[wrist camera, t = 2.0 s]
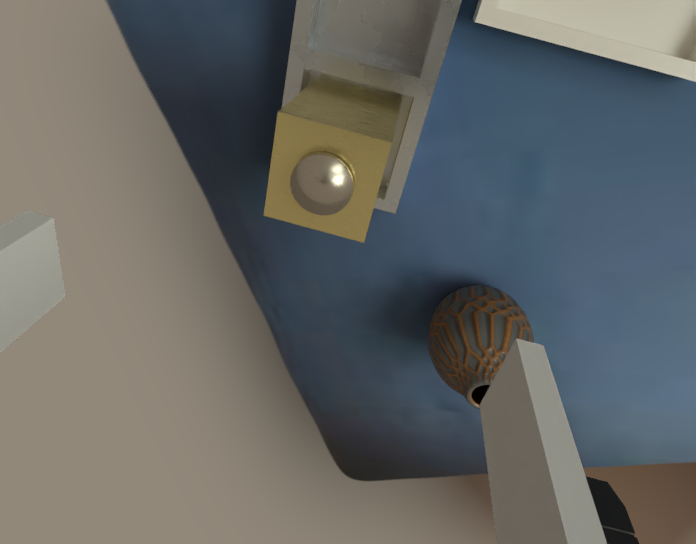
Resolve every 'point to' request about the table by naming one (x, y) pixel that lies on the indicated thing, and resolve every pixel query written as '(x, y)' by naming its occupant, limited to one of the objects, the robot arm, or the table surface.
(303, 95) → the knobbed block
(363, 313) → the table surface
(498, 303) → the vase
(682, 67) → the tray
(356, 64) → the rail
